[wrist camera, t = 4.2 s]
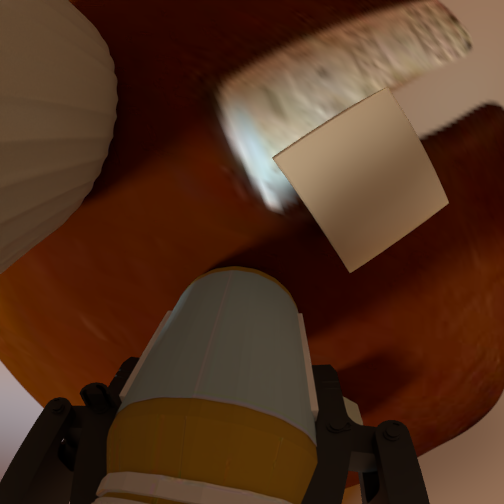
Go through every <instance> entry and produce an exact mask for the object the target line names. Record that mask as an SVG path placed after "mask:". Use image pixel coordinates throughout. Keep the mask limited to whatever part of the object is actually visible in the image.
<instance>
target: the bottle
mask: <svg viewBox="0 0 504 504" xmlns="http://www.w3.org/2000/svg"><path fill="white" fill-rule="evenodd" d="M297 313H298V309H297V306H296V303H295V302H294V300H293V298H292V296H291V294H290V292H289V291H288V290H287V289H286V288H285V287H284V286H283V285H282V284H281V283H280V282H279V281H278V280H276V279H275V278H273V277H272V276H270V275H267V274H265V273H263V272H261V271H259V270H256V269H252V268H246V267H239V266H231V267H224V268H217V269H214V270H211V271H209V272H207V273H205V274H203V275H201V276H199V277H198V278H196V279H195V280H194V281H193V282H192V283H191V284H190V285H189V286H188V287H187V289H186V290H185V292H184V293H183V294H182V296H181V297H180V299H179V301H178V303H177V304H176V306H175V308H174V309H173V311H172V313H171V315H170V316H169V318H168V320H167V322H166V323H165V325H164V327H163V329H162V330H161V332H160V334H159V336H158V337H157V339H156V341H155V343H154V345H153V346H152V348H151V350H150V352H149V354H148V355H147V357H146V359H145V361H144V363H143V364H142V366H141V368H140V370H139V372H138V374H137V376H136V377H135V379H134V381H133V383H132V385H131V387H130V389H129V390H128V392H127V394H126V396H125V398H124V400H123V402H122V404H121V406H120V408H119V409H118V411H117V413H116V415H115V418H114V421H113V423H112V425H111V427H110V429H109V432H108V437H107V475H106V476H105V477H104V478H103V479H102V480H101V483H100V485H99V487H98V490H97V492H96V495H97V496H99V498H97V499H96V500H95V502H93V503H91V504H301V502H302V500H303V497H304V495H305V493H306V490H307V488H308V485H309V483H310V481H311V478H312V476H313V473H314V471H315V468H316V465H317V463H318V461H317V452H316V447H317V443H316V426H315V418H314V415H313V413H312V411H311V405H310V398H309V390H308V383H307V375H306V368H305V361H304V354H303V347H302V340H301V334H300V327H299V321H298V314H297Z"/></svg>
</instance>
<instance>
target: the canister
mask: <svg viewBox="0 0 504 504" xmlns="http://www.w3.org/2000/svg"><path fill="white" fill-rule="evenodd" d="M114 69H115V65H114V61H113V59H112V57H111V56H110V52H109V48H108V46H107V44H106V42H105V41H104V39H103V38H102V37H101V35H100V33H99V32H98V30H97V29H96V27H95V26H94V25H93V24H92V23H91V22H90V21H89V20H88V19H87V18H86V17H85V16H84V15H83V14H82V13H81V12H80V11H79V10H78V9H77V8H76V7H75V6H73V5H72V4H71V3H70V2H69V1H68V0H0V274H1V273H2V272H4V271H5V270H6V269H7V268H8V267H9V266H11V265H12V264H13V263H14V262H15V261H17V260H18V259H19V258H20V257H22V256H23V255H24V254H25V253H27V252H28V251H29V250H30V249H32V248H33V247H34V246H35V245H37V244H38V243H39V242H41V241H42V240H43V239H44V238H46V237H47V236H48V235H50V234H51V233H52V232H54V231H55V230H56V229H58V228H59V227H60V226H61V225H62V224H63V223H64V222H66V221H67V219H68V218H69V217H70V216H71V214H73V213H74V212H75V211H76V210H77V209H78V208H79V206H80V205H81V204H82V202H83V200H84V197H85V196H87V195H88V193H89V192H90V191H91V189H92V188H93V184H94V181H95V179H96V178H97V177H98V176H99V175H100V173H101V168H102V165H103V162H104V160H105V158H106V157H107V156H108V148H109V144H110V142H111V140H112V138H113V129H114V124H115V121H116V119H117V115H116V105H117V102H118V95H117V82H118V81H117V77H116V75H115V73H114Z"/></svg>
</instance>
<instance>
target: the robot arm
mask: <svg viewBox="0 0 504 504" xmlns="http://www.w3.org/2000/svg"><path fill="white" fill-rule="evenodd" d="M171 313H172V311H168V312H167V313H166V315H165V317H164V318H163V320H162V322H161V323H160V325H159V327H158V328H157V330H156V332H155V333H154V335H153V337H152V338H151V340H150V342H149V344H148V345H147V347H146V349H145V350H144V352H143V354H142V356H141V357H140V358H136V357H130V358H129V359H127V360H126V361H125V362H123V364H122V365H121V367H120V369H119V371H118V372H117V373H116V375H115V377H114V378H113V380H112V382H111V383H110V385H109V387H107V386H106V385H104V384H102V383H91V384H88V385H86V386H85V387H84V388H83V389H82V390H81V392H80V395H81V397H82V399H83V401H84V403H85V405H86V406H72V405H71V403H70V402H69V400H67V399H65V398H61V397H59V398H54V399H52V400H51V401H50V402H49V403H48V404H47V405H46V406H45V408H44V409H43V411H42V413H41V414H40V416H39V417H38V419H37V420H36V422H35V424H34V425H33V427H32V428H31V430H30V431H29V433H28V435H27V437H26V438H25V440H24V441H23V443H22V445H21V446H20V448H19V450H18V451H17V453H16V455H15V456H14V458H13V460H12V462H11V463H10V465H9V467H8V469H7V471H6V472H5V475H4V476H3V478H2V480H1V482H0V504H69V502H70V504H91V503H93V502H95V500H96V499H97V498H99V496H97V495H96V492H97V490H98V487H99V485H100V483H101V480H102V479H103V478H104V477H105V476H106V475H107V437H108V432H109V429H110V427H111V425H112V423H113V421H114V418H115V415H116V413H117V411H118V409H119V408H120V406H121V404H122V402H123V400H124V398H125V396H126V394H127V392H128V390H129V389H130V387H131V385H132V383H133V381H134V379H135V377H136V376H137V374H138V372H139V370H140V368H141V366H142V364H143V363H144V361H145V359H146V357H147V355H148V354H149V352H150V350H151V348H152V346H153V345H154V343H155V341H156V339H157V337H158V336H159V334H160V332H161V330H162V329H163V327H164V325H165V323H166V322H167V320H168V318H169V316H170V315H171ZM297 314H298V321H299V327H300V334H301V340H302V347H303V354H304V361H305V368H306V375H307V383H308V390H309V398H310V405H311V411H312V413H313V415H314V418H315V426H316V443H317V447H316V452H317V461H318V463H317V465H316V468H315V471H314V473H313V476H312V478H311V481H310V483H309V485H308V488H307V490H306V493H305V495H304V497H303V500H302V502H301V504H341V503H342V499H343V494H344V489H345V485H346V479H347V474H348V471H356V472H358V473H359V481H360V487H361V496H362V504H430V503H429V499H428V495H427V491H426V487H425V484H424V480H423V476H422V473H421V469H420V466H419V463H418V459H417V456H416V452H415V449H414V446H413V443H412V440H411V437H410V434H409V431H408V429H407V427H406V426H405V425H404V424H403V423H401V422H399V421H396V420H388V421H384V422H382V423H381V424H379V425H378V427H371V426H364V425H360V424H357V423H355V422H354V421H352V419H351V418H350V417H349V416H348V414H347V411H346V407H345V403H344V399H343V395H342V391H341V389H340V383H339V379H338V376H337V372H336V371H335V370H334V368H333V367H332V366H331V365H311V360H310V354H309V348H308V343H307V337H306V332H305V326H304V321H303V315H302V313H297ZM63 439H64V440H63ZM62 440H63V441H62Z"/></svg>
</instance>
